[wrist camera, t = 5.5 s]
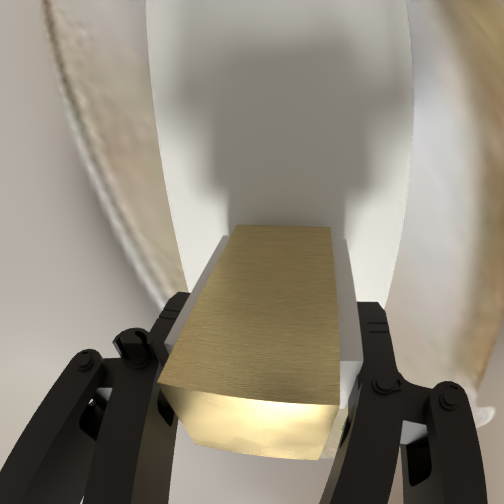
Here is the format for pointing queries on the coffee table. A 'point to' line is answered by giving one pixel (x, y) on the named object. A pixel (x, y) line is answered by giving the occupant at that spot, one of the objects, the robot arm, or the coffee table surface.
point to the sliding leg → (261, 347)
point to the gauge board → (285, 123)
